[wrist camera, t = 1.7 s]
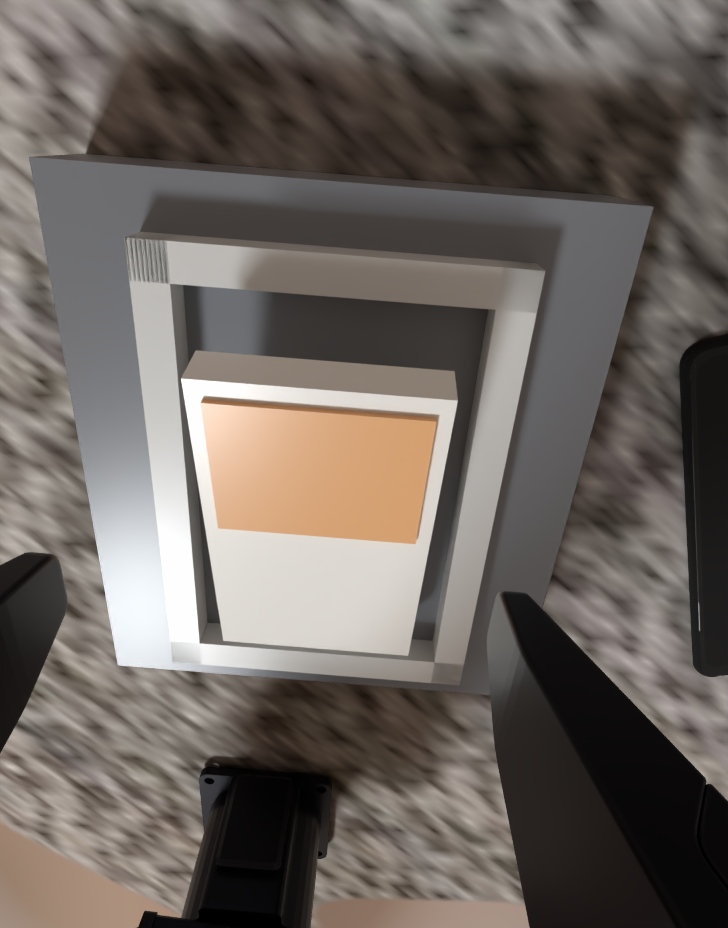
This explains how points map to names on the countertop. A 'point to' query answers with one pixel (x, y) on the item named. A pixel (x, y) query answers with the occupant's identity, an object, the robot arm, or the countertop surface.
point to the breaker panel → (340, 340)
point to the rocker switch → (318, 494)
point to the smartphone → (707, 498)
